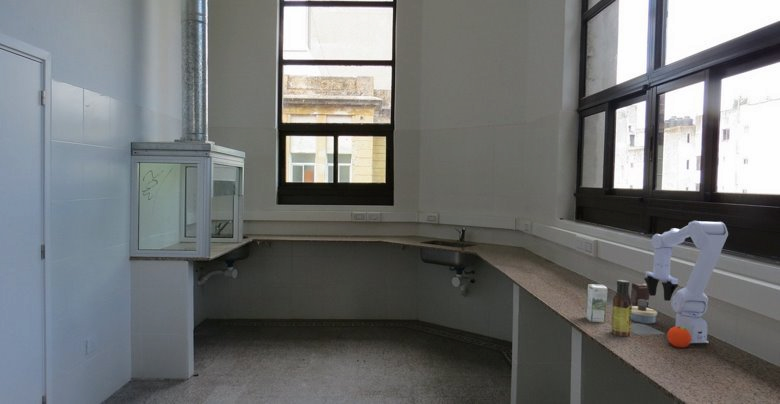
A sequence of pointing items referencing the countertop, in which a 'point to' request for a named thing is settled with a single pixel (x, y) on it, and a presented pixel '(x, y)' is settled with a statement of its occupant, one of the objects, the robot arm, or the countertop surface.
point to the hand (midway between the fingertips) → (659, 297)
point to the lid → (643, 309)
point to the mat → (644, 329)
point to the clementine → (679, 336)
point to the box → (639, 293)
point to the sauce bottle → (622, 310)
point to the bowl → (643, 318)
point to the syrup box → (596, 303)
